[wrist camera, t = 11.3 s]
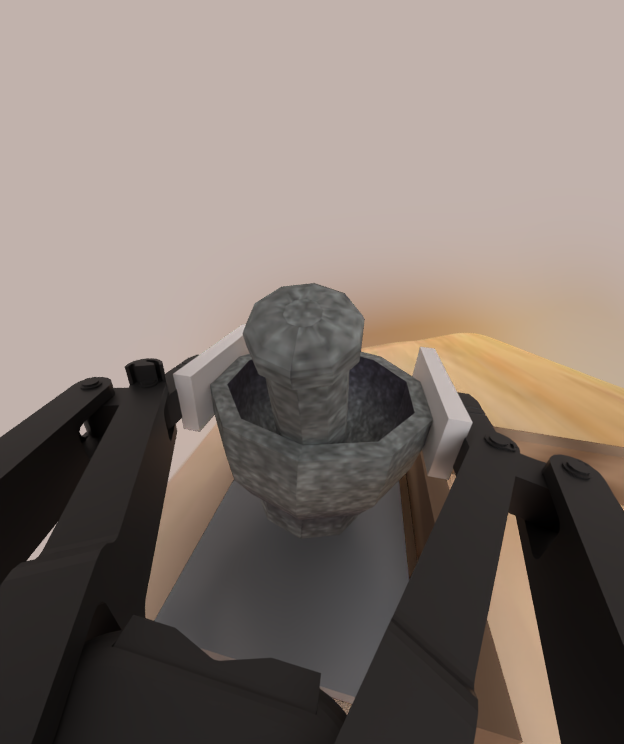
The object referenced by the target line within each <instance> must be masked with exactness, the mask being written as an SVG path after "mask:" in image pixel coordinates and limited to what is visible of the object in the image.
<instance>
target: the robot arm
mask: <svg viewBox="0 0 624 744" xmlns="http://www.w3.org/2000/svg"><path fill="white" fill-rule="evenodd" d="M244 328H245V324H243V325H241V326H240V327H238V328H237V329H236V330H234V331H233V332H231V333H230V334H228V335H227V336H226V337H224V338H223V339H221V340H220V341H219V342H217V343H216V344H214V345H213V346H212V347H210V348H209V349H207V350H206V351H204V352H203V353H202V354H200V355H196V356H193V357H190V358H188V359H186V360H185V361H183V362H182V364H179V365H177V366H176V367H175V368H173V369H172V370H170V371H169V372H167V373H166V374H165V372H164V368H163V363H162V361H160V360H158V359H141V360H137V361H133V362H131V363H129V364H127V365H126V366H125V369H126V372H127V376H128V380H129V383H130V386H129V388H113V385H112V382H111V380H110V379H109V378H104V377H92V378H87V379H85V380H83V381H80V382H78V383H76V384H74V385H73V386H71V387H70V388H68V389H67V390H66V391H64V392H63V393H62V394H60V395H59V396H58V397H56V398H55V399H53V400H52V401H50V402H49V403H48V404H46V405H45V406H43V407H42V408H41V409H39V410H38V411H37V412H35V413H34V414H32V415H31V416H29V417H28V418H27V419H25V420H24V421H22V422H21V423H20V424H18V425H17V426H16V427H14V428H13V429H11V430H10V431H9V432H7V433H6V434H5V435H3V436H2V437H0V744H474V740H475V734H476V727H477V719H478V698H477V696H476V693H475V691H474V683H475V676H476V671H477V666H478V661H479V656H480V651H481V646H482V641H483V636H484V631H485V626H486V621H487V616H488V611H489V606H490V601H491V596H492V591H493V586H494V581H495V576H496V571H497V566H498V561H499V556H500V551H501V546H502V541H503V536H504V531H505V526H506V521H507V516H508V513H510V514H513V515H515V516H516V520H517V525H518V530H519V535H520V540H521V545H522V550H523V555H524V560H525V565H526V570H527V575H528V580H529V585H530V590H531V595H532V600H533V605H534V610H535V615H536V620H537V625H538V630H539V635H540V640H541V645H542V650H543V655H544V660H545V665H546V670H547V675H548V680H549V685H550V690H551V695H552V700H553V705H554V710H555V715H556V720H557V725H558V730H559V735H560V740H561V744H624V511H623V509H622V507H621V506H620V504H619V502H618V501H617V499H616V497H615V496H614V494H613V492H612V491H611V489H610V487H609V486H608V484H607V482H606V481H605V479H604V478H603V477H602V475H601V474H600V473H599V472H598V471H597V470H595V469H594V468H593V467H591V466H590V465H589V464H587V463H585V462H583V461H581V460H579V459H576V458H573V457H570V456H566V455H561V454H558V455H553V456H551V457H550V458H549V460H548V461H547V463H545V462H542V461H539V460H536V459H534V458H531V457H528V456H525V455H523V454H521V453H520V449H519V447H518V446H517V444H516V443H515V442H514V441H512V440H511V439H510V438H508V437H507V436H505V435H503V434H501V433H498V432H496V431H495V429H494V427H493V426H492V424H491V423H490V421H489V419H488V418H487V416H485V413H484V411H483V410H482V408H481V406H480V404H479V403H478V401H477V400H475V399H474V398H473V397H472V396H471V395H469V394H465V393H458V392H457V391H456V389H455V387H454V385H453V383H452V381H451V379H450V378H449V376H448V374H447V372H446V370H445V368H444V366H443V364H442V362H441V360H440V358H439V356H438V354H437V352H436V350H435V349H433V348H425V347H420V349H419V353H418V357H417V361H416V364H415V368H414V372H413V376H412V377H414V378H415V379H417V380H418V381H420V382H421V385H422V388H423V391H424V394H425V396H426V399H427V402H428V405H429V408H430V411H431V414H432V417H433V421H432V424H431V427H430V430H429V433H428V436H427V439H426V442H425V445H424V447H423V448H422V452H423V457H424V461H425V466H426V470H427V475H428V476H431V477H436V478H441V479H447V480H449V478H450V475H451V473H452V470H453V469H454V472H455V475H456V478H455V480H454V483H453V485H452V487H451V489H450V491H449V494H448V496H447V498H446V500H445V502H444V505H443V507H442V509H441V511H440V513H439V516H438V518H437V520H436V522H435V524H434V527H433V529H432V531H431V533H430V535H429V538H428V540H427V542H426V544H425V546H424V549H423V551H422V553H421V555H420V557H419V560H418V562H417V564H416V566H415V568H414V571H413V573H412V575H411V577H410V579H409V582H408V584H407V586H406V588H405V590H404V593H403V595H402V597H401V599H400V601H399V604H398V606H397V608H396V610H395V612H394V615H393V617H392V619H391V621H390V623H389V625H388V627H387V629H386V631H385V633H384V636H383V638H382V640H381V642H380V644H379V647H378V649H377V651H376V653H375V655H374V658H373V660H372V662H371V664H370V666H369V669H368V671H367V673H366V675H365V677H364V679H363V682H362V684H361V686H360V688H359V690H358V693H357V695H356V697H355V699H354V701H353V704H352V706H351V708H350V710H349V712H348V715H347V714H346V713H345V712H344V711H343V709H342V708H341V707H340V706H339V705H338V704H337V703H336V702H335V701H334V700H333V699H332V698H331V697H330V696H329V695H328V694H327V693H325V692H324V691H323V690H321V689H320V679H321V673H319V672H316V671H313V670H310V669H306V668H303V667H300V666H297V665H294V664H290V663H287V662H284V661H281V660H278V659H274V658H256V659H240V660H224V661H218V660H214V659H212V658H211V657H210V656H208V655H207V654H206V653H205V652H204V651H203V650H201V649H200V648H199V647H198V646H197V645H195V644H194V643H193V642H192V641H191V640H189V639H188V638H187V637H186V636H185V635H184V634H182V633H181V632H180V631H179V630H178V629H176V628H175V627H172V626H168V625H165V624H162V623H159V622H155V621H152V620H149V619H146V618H145V599H146V593H147V588H148V583H149V577H150V572H151V567H152V561H153V556H154V551H155V546H156V540H157V535H158V530H159V524H160V519H161V514H162V509H163V503H164V498H165V493H166V488H167V482H168V477H169V471H170V466H171V461H172V455H173V451H174V445H175V440H176V435H177V428H176V423H177V422H178V421H179V420H180V419H181V418H182V422H183V427H184V429H188V430H193V431H198V432H200V431H201V430H202V429H203V427H204V426H205V425H206V424H207V423H208V421H210V419H211V418H212V417H213V416H214V415H215V414H214V410H213V403H212V395H211V387H210V384H211V383H212V382H213V381H214V380H216V379H217V378H218V377H219V376H220V375H221V374H222V373H223V372H224V371H225V370H226V369H227V368H228V367H229V366H230V365H231V364H232V363H233V362H234V361H235V360H236V359H237V358H238V357H240V356H243V355H247V354H250V353H249V351H248V349H247V346H246V343H245V340H244V337H243V334H242V333H243V330H244ZM83 423H84V426H85V428H86V430H87V432H86V433H85V434H84V435H82V436H81V434H80V432H79V431H80V427H81V426H82V424H83ZM56 523H57V524H56ZM55 524H56V526H55ZM54 526H55V528H54V530H53V532H52V534H51V536H50V538H49V540H48V542H47V543H46V545H45V547H44V549H43V551H42V552H41V554H40V555H39V557H37V558H36V559H35V560H30V561H27V559H28V558H29V557H30V556H31V554H32V553H33V552H34V551H35V549H36V548H37V547H38V546H39V544H40V543H41V542H42V540H43V539H44V538H45V537H46V536H47V534H48V533H49V532H50V531H51V529H52V528H53V527H54Z"/></svg>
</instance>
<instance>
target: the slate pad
mask: <svg viewBox="0 0 624 744" xmlns="http://www.w3.org/2000/svg"><path fill="white" fill-rule="evenodd" d="M408 582H409V574H408V564H407V554H406V544H405V534H404V524H403V514H402V504H401V494H400V484H399V481H398V482H397V483H396V484H395V485H394V486H393V487H392V488H391V489H390V490H389V491H388V492H387V493H386V494H385V495H384V496H383V497H382V498H381V499H380V500H379V501H378V502H377V504H376V505H375V506H374V507H372V508H370V509H368V510H366V511H364V512H362V513H361V514H360V515H359V516H358V517H357V518H356V519H355V520H354V521H353V522H352V523H351V524H350V525H349V526H348V527H347V528H346V529H345V530H344V531H343V532H342V533H341V534H340V535H332V536H322V537H312V538H302V539H300V538H299V537H297V536H295V535H293V534H292V533H290V532H288V531H287V530H285V529H283V528H281V527H280V526H278V525H276V524H275V523H273V522H271V521H270V520H268V519H267V517H266V514H265V511H264V508H263V505H262V503H261V500H260V498H258V497H257V496H255V495H253V494H251V493H250V492H249V491H247V490H246V489H245V488H244V487H243V486H241V485H240V484H239V483H238V482H236V481H235V480H233V482H232V484H231V486H230V487H229V489H228V491H227V493H226V494H225V496H224V498H223V500H222V502H221V503H220V505H219V507H218V509H217V510H216V512H215V514H214V516H213V517H212V519H211V521H210V523H209V525H208V526H207V528H206V530H205V532H204V533H203V535H202V537H201V539H200V541H199V542H198V544H197V546H196V548H195V549H194V551H193V553H192V555H191V557H190V558H189V560H188V562H187V564H186V565H185V567H184V569H183V571H182V573H181V574H180V576H179V578H178V580H177V581H176V583H175V585H174V587H173V588H172V590H171V592H170V594H169V596H168V597H167V599H166V601H165V603H164V604H163V606H162V608H161V610H160V612H159V613H158V615H157V617H156V619H155V620H154V621H155V622H159V623H162V624H165V625H168V626H172V627H175V628H176V629H178V630H179V631H180V632H181V633H182V634H184V635H185V636H186V637H187V638H188V639H189V640H191V641H192V642H193V643H194V644H195V645H197V646H198V647H199V648H200V649H201V650H203V651H204V652H205V653H206V654H207V655H208V656H210V657H211V658H212V659H214V660H218V661H224V660H240V659H256V658H274V659H278V660H281V661H284V662H287V663H290V664H294V665H297V666H300V667H303V668H306V669H310V670H313V671H316V672H319V673H321V679H320V689H321V690H323V691H324V692H325V693H327V694H328V695H329V696H330V697H332V698H335V699H338V700H341V701H344V702H347V703H351V704H353V701H354V699H355V697H356V695H357V693H358V690H359V688H360V686H361V684H362V682H363V679H364V677H365V675H366V673H367V671H368V669H369V666H370V664H371V662H372V660H373V658H374V655H375V653H376V651H377V649H378V647H379V644H380V642H381V640H382V638H383V636H384V633H385V631H386V629H387V627H388V625H389V623H390V621H391V619H392V617H393V615H394V612H395V610H396V608H397V606H398V604H399V601H400V599H401V597H402V595H403V593H404V590H405V588H406V586H407V584H408Z"/></svg>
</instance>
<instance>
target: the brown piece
mask: <svg viewBox="0 0 624 744" xmlns="http://www.w3.org/2000/svg"><path fill="white" fill-rule="evenodd" d="M494 429H495V431H496V432H498V433H501V434H503V435H505V436H507V437H508V438H510V439H511V440H512V441H514V442H515V443H516V444H517V446H518V447H519V449H520V453H521V454H523V455H525V456H528V457H531V458H534V459H536V460H539V461H542V462H545V463H547V461H548V460H549V458H550V457H551V456H553V455H558V454H561V455H566V456H570V457H573V458H576V459H579V460H581V461H583V462H585V463H587V464H589V465H590V466H591V467H593V468H594V469H595V470H597V471H598V472H599V473H600V474H601V475H602V477H603V478H604V479H605V481H606V482H607V484H608V486H609V487H610V489H611V491H612V492H613V494H614V496H615V497H616V499H617V501H618V502H619V504H621V505H624V447H618V446H612V445H606V444H600V443H593V442H587V441H581V440H574V439H568V438H562V437H556V436H549V435H543V434H537V433H530V432H524V431H518V430H512V429H505V428H499V427H494ZM452 473H454V474H455V472H454V469H453V470H452ZM406 476H407V484H408V491H409V499H410V506H411V514H412V521H413V529H414V537H415V544H416V552H417V559H418V560H419V557H420V555H421V553H422V551H423V549H424V546H425V544H426V542H427V540H428V538H429V535H430V533H431V531H432V529H433V527H434V524H435V522H436V520H437V518H438V516H439V513H440V511H441V509H442V507H443V505H444V502H445V500H446V498H447V496H448V494H449V491H450V490H449V487H448V483H447V480H446V479H441V478H436V477H431V476H428V475H427V470H426V466H425V461H424V457H423V452H422V450H421V452H420V453H419V455H418V457H417V458H416V460H415V462H414V463H413V465H412V467H411V468H410V469H409V471H408V472H407V473H406ZM474 691H475V693H476V696H477V698H478V719H477V727H476V734H475V740H474V744H519V743H521V742H522V738H521V735H520V731H519V728H518V724H517V721H516V717H515V714H514V711H513V707H512V704H511V700H510V697H509V693H508V690H507V686H506V683H505V680H504V676H503V673H502V669H501V666H500V662H499V659H498V656H497V652H496V649H495V645H494V642H493V638H492V635H491V631H490V628H489V625H488V621H486V626H485V631H484V636H483V641H482V646H481V651H480V656H479V661H478V666H477V671H476V676H475V683H474Z"/></svg>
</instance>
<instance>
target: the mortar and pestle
mask: <svg viewBox="0 0 624 744" xmlns="http://www.w3.org/2000/svg"><path fill="white" fill-rule="evenodd" d="M364 320H365V319H364V317H363V315H362V314H361V313H360V312H359V311H358V309H357V308H356V307H355V306H354V304H353V303H352V302H351V301H350V299H349V298H348V297H347V296H346V295H345V293H342V292H339V291H336V290H333V289H330V288H327V287H324V286H321V285H318V284H315V283H311V284H303V285H293V286H284V287H281V288H279V289H277V290H276V291H274V292H272V293H271V294H269V295H268V296H266V297H264V298H263V299H261V300H260V301H258V302H256V303H255V304H254V307H253V309H252V312H251V314H250V316H249V318H248V321H247V323H246V325H245V328H244V330H243V333H242V334H243V337H244V340H245V343H246V346H247V349H248V351H249V353H250V354H247V355H243V356H240V357H238V358H237V359H236V360H235V361H234V362H233V363H232V364H231V365H230V366H229V367H228V368H227V369H226V370H225V371H224V372H223V373H222V374H221V375H220V376H219V377H218V378H217V379H216V380H214V381H213V382H212V383H211V384H210V387H211V395H212V403H213V410H214V414H215V417H216V421H217V425H218V428H219V432H220V435H221V439H222V442H223V446H224V449H225V453H226V456H227V459H228V462H229V465H230V468H231V471H232V474H233V477H234V480H235V481H236V482H238V483H239V484H240V485H241V486H243V487H244V488H245V489H246V490H247V491H249V492H250V493H251V494H253V495H255V496H257V497H258V498H260V500H261V503H262V505H263V508H264V511H265V514H266V517H267V519H268V520H270V521H271V522H273V523H275V524H276V525H278V526H280V527H281V528H283V529H285V530H287V531H288V532H290V533H292V534H293V535H295V536H297V537H299V538H300V539H302V538H312V537H322V536H332V535H340V534H341V533H342V532H343V531H344V530H345V529H346V528H347V527H348V526H349V525H350V524H351V523H352V522H353V521H354V520H355V519H356V518H357V517H358V516H359V515H360V514H361V513H362V512H364V511H366V510H368V509H370V508H372V507H374V506H375V505H376V504H377V502H378V501H379V500H380V499H381V498H382V497H383V496H384V495H385V494H386V493H387V492H388V491H389V490H390V489H391V488H392V487H393V486H394V485H395V484H396V483H397V482H398V481H399V480H400V479H401V478H402V477H403V476H404V475H405V474H406V473H407V472H408V471H409V469H410V468H411V467H412V465H413V463H414V462H415V460H416V458H417V457H418V455H419V453H420V452H421V450H422V448H423V447H424V445H425V442H426V439H427V436H428V433H429V430H430V427H431V424H432V421H433V417H432V414H431V411H430V408H429V405H428V402H427V399H426V396H425V394H424V391H423V388H422V385H421V382H420V381H418V380H417V379H415V378H414V377H412V376H410V375H409V374H407V373H406V372H404V371H403V370H401V369H399V368H398V367H396V366H395V365H393V364H392V363H390V362H388V361H387V360H385V359H384V358H382V357H380V356H376V355H372V354H368V353H364V352H361V346H362V337H363V329H364Z"/></svg>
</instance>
